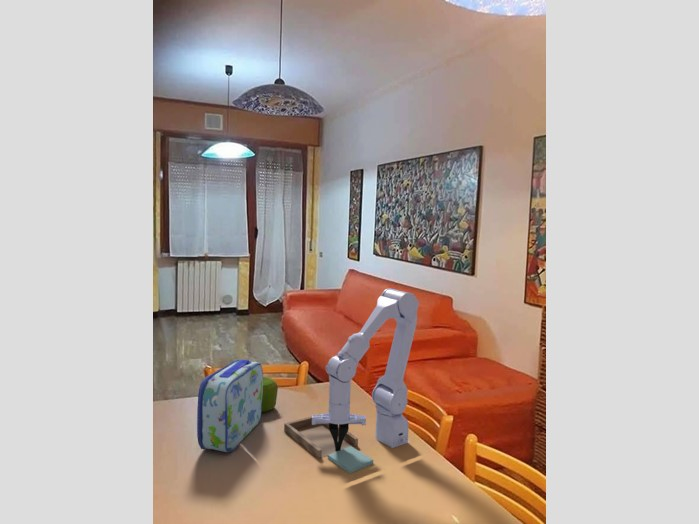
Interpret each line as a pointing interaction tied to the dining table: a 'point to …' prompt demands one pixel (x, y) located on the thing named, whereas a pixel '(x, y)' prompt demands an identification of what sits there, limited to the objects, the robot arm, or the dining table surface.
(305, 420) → the box
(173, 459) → the dining table surface
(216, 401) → the lunch box
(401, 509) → the dining table surface
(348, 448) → the teal square tile
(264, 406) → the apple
